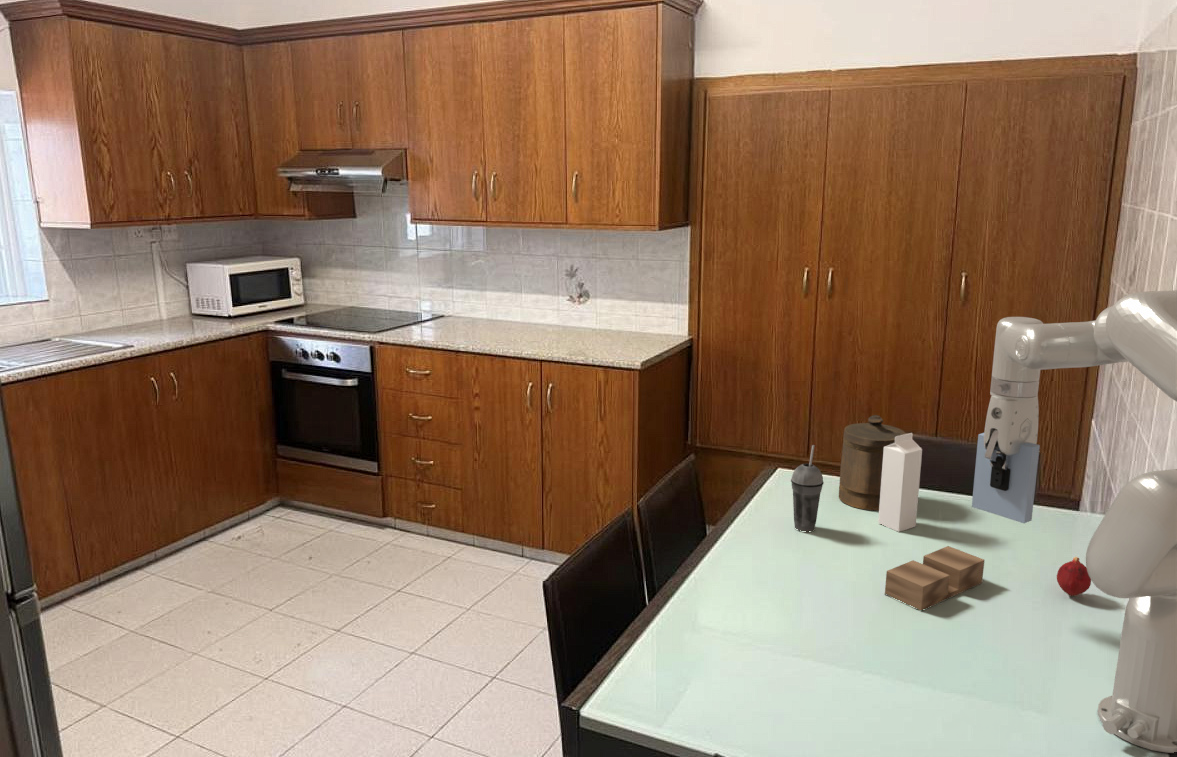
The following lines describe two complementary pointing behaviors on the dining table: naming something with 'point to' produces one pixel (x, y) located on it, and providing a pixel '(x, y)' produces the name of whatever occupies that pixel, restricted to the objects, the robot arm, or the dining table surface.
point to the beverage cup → (806, 495)
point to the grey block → (1021, 484)
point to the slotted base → (934, 577)
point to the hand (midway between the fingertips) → (1004, 486)
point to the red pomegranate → (1073, 577)
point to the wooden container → (864, 462)
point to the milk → (900, 483)
